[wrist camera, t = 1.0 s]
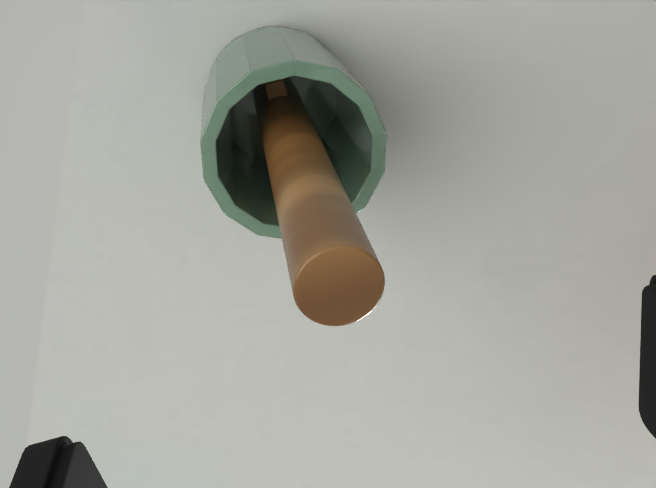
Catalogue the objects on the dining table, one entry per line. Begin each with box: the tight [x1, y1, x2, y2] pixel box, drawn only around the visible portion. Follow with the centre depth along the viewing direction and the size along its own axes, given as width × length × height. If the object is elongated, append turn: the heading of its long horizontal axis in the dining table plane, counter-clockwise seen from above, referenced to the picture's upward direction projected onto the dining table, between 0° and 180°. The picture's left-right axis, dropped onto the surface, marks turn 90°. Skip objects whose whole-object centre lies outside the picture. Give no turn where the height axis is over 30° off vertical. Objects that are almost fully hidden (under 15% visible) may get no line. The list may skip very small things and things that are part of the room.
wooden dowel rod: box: [255, 79, 385, 326], centre depth 20 cm, size 3×2×16 cm, turn 11°
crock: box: [200, 26, 387, 239], centre depth 24 cm, size 6×6×8 cm
